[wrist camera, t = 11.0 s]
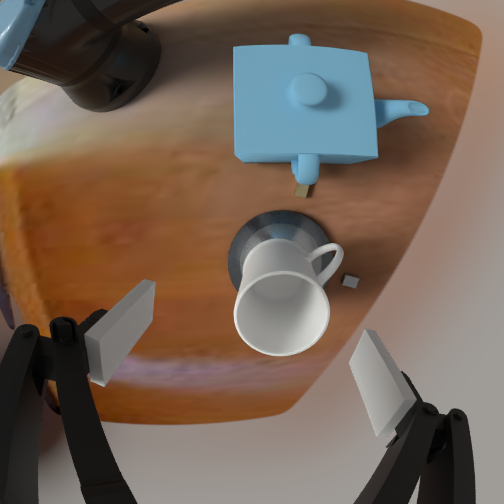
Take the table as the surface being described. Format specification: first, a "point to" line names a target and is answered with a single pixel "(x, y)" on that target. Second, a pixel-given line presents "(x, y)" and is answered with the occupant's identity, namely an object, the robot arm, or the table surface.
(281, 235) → the socket pad
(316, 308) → the mug
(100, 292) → the table surface
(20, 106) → the table surface
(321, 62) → the teapot
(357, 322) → the table surface
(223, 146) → the table surface
